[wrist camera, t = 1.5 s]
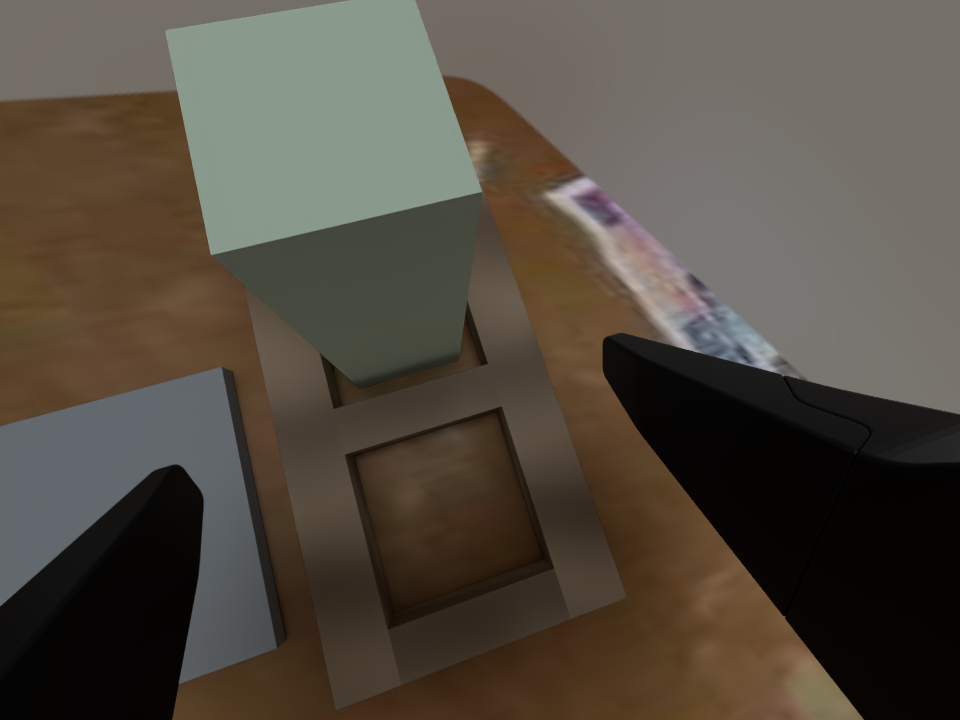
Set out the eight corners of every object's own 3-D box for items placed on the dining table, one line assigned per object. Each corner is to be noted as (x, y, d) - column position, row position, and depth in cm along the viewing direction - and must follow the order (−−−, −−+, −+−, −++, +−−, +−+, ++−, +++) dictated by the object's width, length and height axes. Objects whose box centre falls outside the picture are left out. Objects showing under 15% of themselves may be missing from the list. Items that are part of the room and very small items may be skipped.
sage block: (458, 359, 22) (482, 191, 8) (359, 388, 21) (211, 254, 8) (431, 269, 23) (412, -10, 9) (335, 294, 22) (165, 30, 9)
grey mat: (285, 638, 19) (276, 648, 18) (-33, 753, 17) (-62, 771, 16) (232, 371, 21) (221, 366, 20) (-52, 448, 19) (-78, 447, 18)
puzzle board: (609, 584, 20) (627, 597, 18) (347, 685, 18) (335, 710, 16) (477, 204, 24) (480, 181, 22) (252, 258, 22) (233, 238, 20)
